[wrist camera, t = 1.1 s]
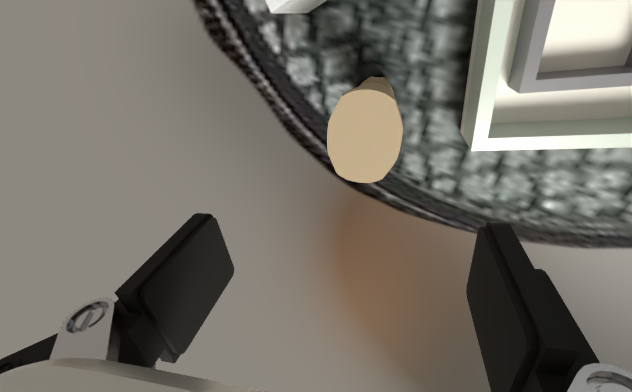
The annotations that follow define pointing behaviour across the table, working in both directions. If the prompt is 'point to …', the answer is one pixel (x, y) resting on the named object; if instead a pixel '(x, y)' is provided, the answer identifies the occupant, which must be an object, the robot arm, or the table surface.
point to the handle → (365, 132)
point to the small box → (292, 5)
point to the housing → (549, 75)
